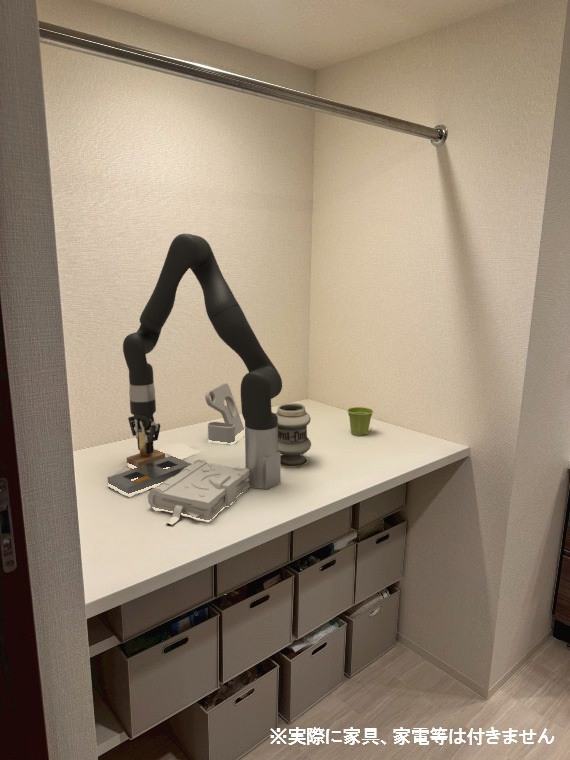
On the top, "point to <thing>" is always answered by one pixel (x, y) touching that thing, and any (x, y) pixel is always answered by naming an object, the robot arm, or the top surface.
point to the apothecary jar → (293, 434)
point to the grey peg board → (148, 474)
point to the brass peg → (143, 445)
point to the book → (200, 489)
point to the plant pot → (359, 420)
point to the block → (140, 461)
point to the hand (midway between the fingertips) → (145, 451)
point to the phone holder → (229, 413)
